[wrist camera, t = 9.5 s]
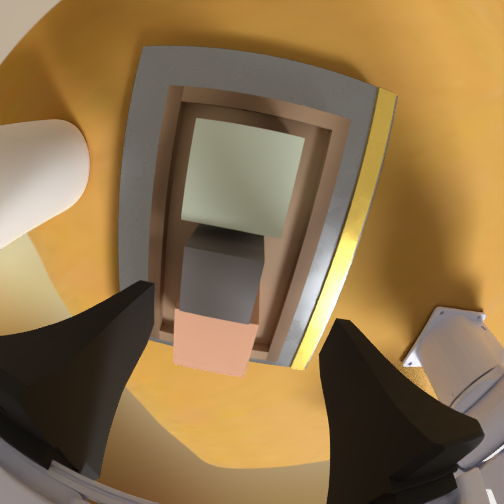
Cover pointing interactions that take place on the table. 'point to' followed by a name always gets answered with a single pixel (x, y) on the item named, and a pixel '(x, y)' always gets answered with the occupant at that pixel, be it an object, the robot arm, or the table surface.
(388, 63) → the table surface
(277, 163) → the sage block
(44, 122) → the pill bottle
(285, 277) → the tray
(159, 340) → the dock
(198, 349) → the terracotta block
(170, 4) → the table surface
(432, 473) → the robot arm
